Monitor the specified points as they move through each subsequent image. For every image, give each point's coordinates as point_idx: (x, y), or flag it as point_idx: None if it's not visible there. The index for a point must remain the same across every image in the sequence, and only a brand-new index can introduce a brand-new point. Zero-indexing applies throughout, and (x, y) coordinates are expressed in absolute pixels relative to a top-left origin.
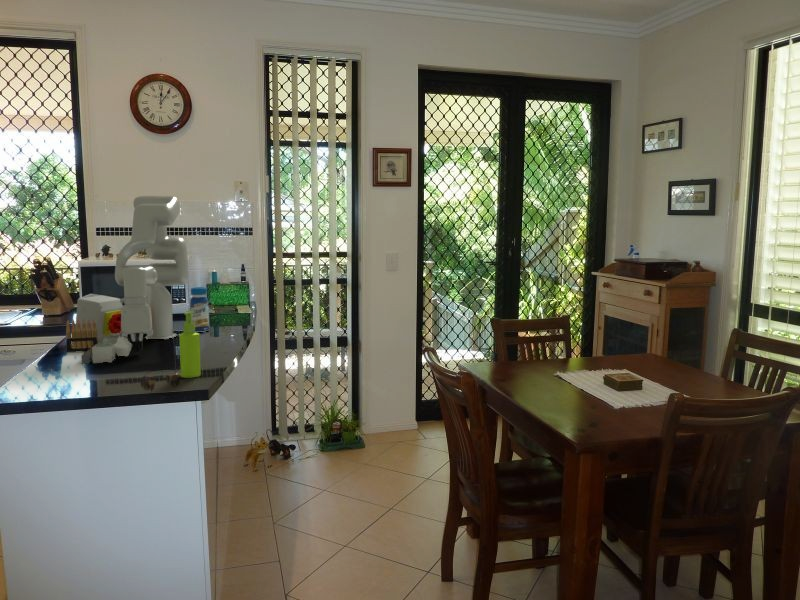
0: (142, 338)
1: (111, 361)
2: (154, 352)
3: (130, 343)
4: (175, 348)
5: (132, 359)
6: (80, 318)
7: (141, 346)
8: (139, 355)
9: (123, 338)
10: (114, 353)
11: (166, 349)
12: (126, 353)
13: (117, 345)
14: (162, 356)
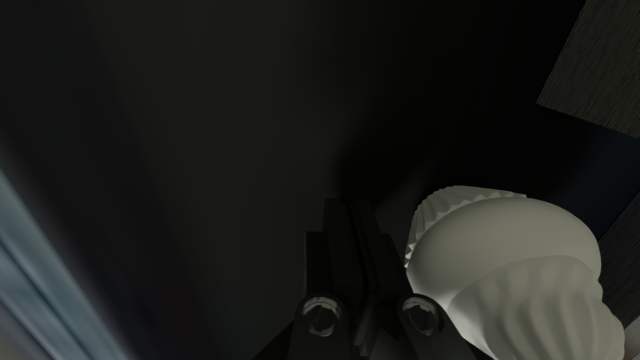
0: (292, 332)
1: None
2: (230, 274)
3: None
4: (124, 348)
5: (394, 11)
6: None
7: (312, 248)
8: None
9: (572, 349)
10: (616, 77)
11: (174, 335)
12: (439, 198)
13: (589, 241)
14: (93, 87)
